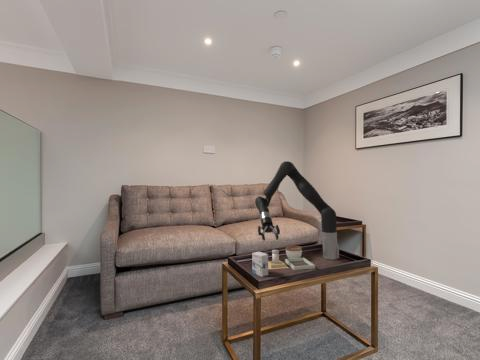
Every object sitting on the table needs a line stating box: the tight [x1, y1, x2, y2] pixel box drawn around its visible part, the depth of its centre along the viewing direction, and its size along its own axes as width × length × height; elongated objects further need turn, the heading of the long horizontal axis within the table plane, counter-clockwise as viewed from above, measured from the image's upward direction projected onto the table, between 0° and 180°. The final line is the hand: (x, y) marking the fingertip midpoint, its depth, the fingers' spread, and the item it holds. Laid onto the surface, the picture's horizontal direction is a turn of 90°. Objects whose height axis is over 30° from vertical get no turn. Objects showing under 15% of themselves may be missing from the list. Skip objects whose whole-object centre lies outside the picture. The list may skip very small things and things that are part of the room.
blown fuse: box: [271, 249, 280, 264], centre depth 150 cm, size 4×4×9 cm
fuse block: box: [268, 260, 289, 270], centre depth 150 cm, size 12×12×2 cm
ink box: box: [251, 251, 269, 278], centre depth 137 cm, size 9×5×12 cm, turn 35°
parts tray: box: [284, 257, 316, 271], centre depth 150 cm, size 13×17×2 cm
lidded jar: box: [285, 244, 303, 259], centre depth 165 cm, size 11×11×9 cm
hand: (270, 239), depth 160 cm, fingers open, 8 cm apart
